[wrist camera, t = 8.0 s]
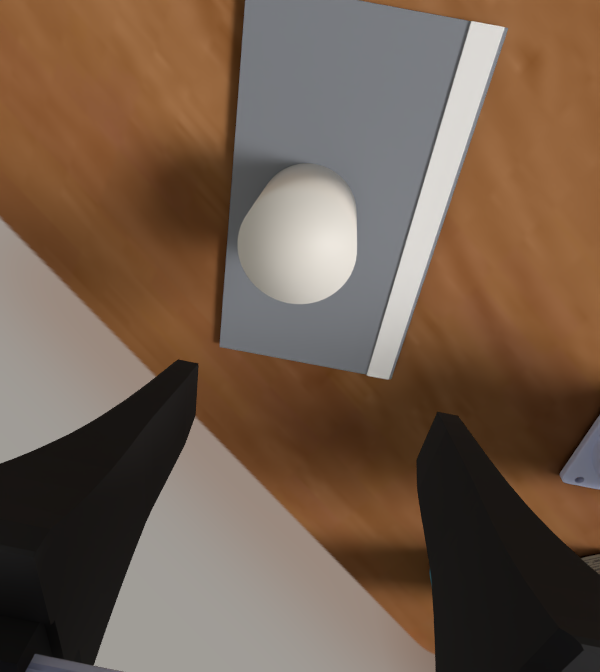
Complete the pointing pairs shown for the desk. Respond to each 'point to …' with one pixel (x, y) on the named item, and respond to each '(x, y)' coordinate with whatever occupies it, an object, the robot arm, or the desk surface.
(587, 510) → the desk surface
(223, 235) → the desk surface
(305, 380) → the desk surface
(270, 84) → the gray book
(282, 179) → the white tapered cylinder
